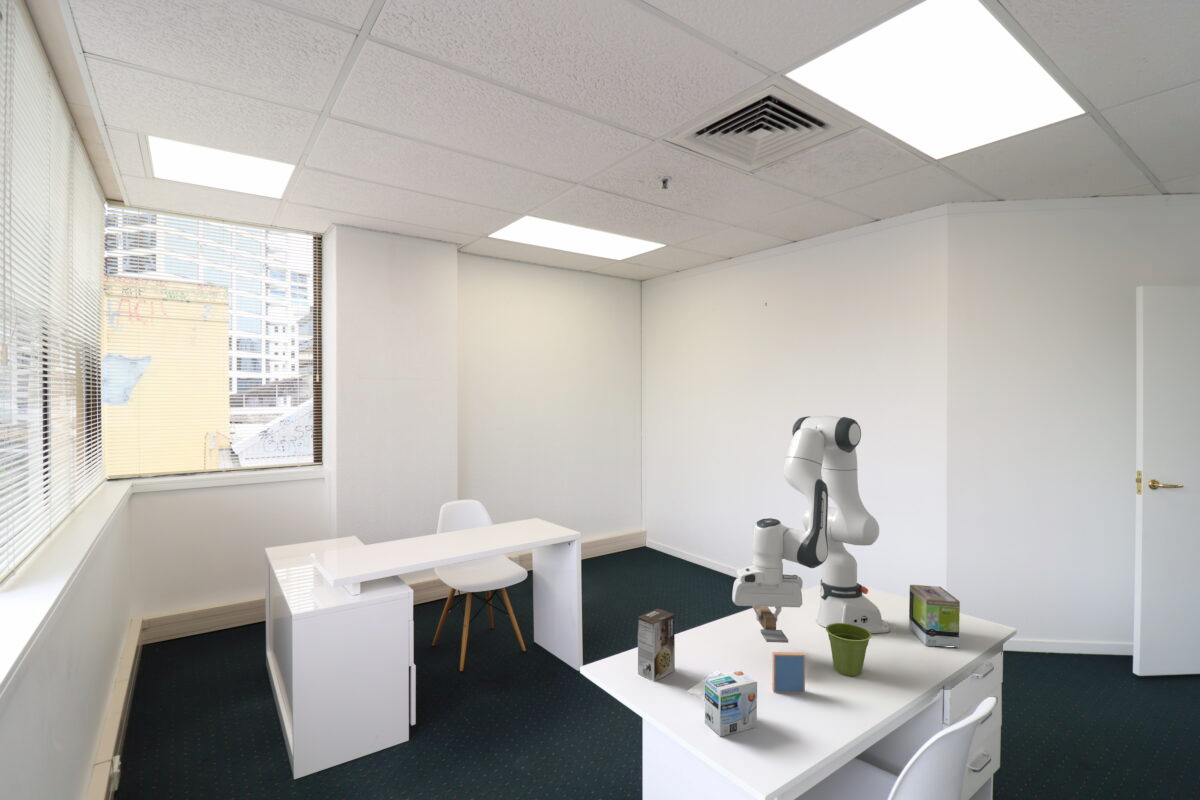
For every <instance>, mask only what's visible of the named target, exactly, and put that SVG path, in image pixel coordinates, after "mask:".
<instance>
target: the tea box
mask: <svg viewBox="0 0 1200 800" xmlns="http://www.w3.org/2000/svg"><path fill="white" fill-rule="evenodd" d="M908 603H909V604H908V605H909V607H908V610H909V611H908V613H909V615H908V627H909V629H910V630H911V631H912V632H913V633H914V634H915V635H916V637H918V638H919V640H920V641H921V642H922V644H924V645H925V646H927V647H935V646H954V647H958V648H959V646H960V617H961V616H960V613H961V611H960V610H961V609H960V607H961V602H960V600H959V599H957V598H956V597H955V596H954V595H952V594H951V593H950V592H948V591H947V590H946V589H944V588H943V587H942V586H940V585H939V586H937V585H925V584H922V585H921V584H909V602H908Z"/></svg>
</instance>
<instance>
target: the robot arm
mask: <svg viewBox="0 0 1200 800" xmlns="http://www.w3.org/2000/svg"><path fill="white" fill-rule="evenodd" d="M791 433H792V435H791V436H792V438H791V441H790V443H789V446H788V450H787V452H786V456H785V461H784V464H783V476H784V478H785V481H786V483H788V484H789V486H791V487H792V488H793V489H795V491H798V492H800V493H801V494H802V495H804V496H805V497H806V499H807V501H808V504H809V507H808V508H807V509H806V510H805V512H804V513H803V517H802V526H803V528H804V530H805V531H803V530H800V529H794V528H792V527H788V526H785V525H784V524H782V521H780V520H779V519H777V518H772V517H769V518H762V519H759V520H757V521H756V523H755V525H754V527H753V535H752V551H753V559H752V562H751V564H752V565H749V566H745V567H743V568H739V569H737V570H736V577H737V578H736V579H734V582H733V587H732V595H731V596H732V597H731V599H732V602H733V604H734V605H736V606H739V607H742V606H743V607H752V609H753V610H754V612H755V617H756V618H755V619H756V621H757V622H759V621H762V614H761V613H758V610H759V606H762V607H768V608H770V607H772V608H775V610H774V612H773V615H774V616H775V618H776V622H778V616H779V615H780V613H781V612H782V608H801V606H803V593H802V589H803V582H804V581H803V579H802V577H800V576H798V575H797V574H784V562H783V560H786V561H789V562H792V563H796V564H799V565H801V566H804V567H807V568H809V569H815V568H817V567H820V566H821V579H820V585H819V593H820V605H819V610H818V614H817V618H816V623H817V624H818V625H820V626H822V627H823V628H826V627H827V626H828V625H830V624H833V623H847V624H853V625H857V626H860V627H862V628H864V629H866V630H868V631H869V632H870V633H871V634H882V633H889V632H890V625H889V624H888V623H887V621H885V620H884V619H883V618H882V613H881V611H880V609H879V607H878V606H877V605H876V604H875V603H874V602H873V601H871V600H870V599H869V598H867V596H865V595H867V594H868V593H869V589H868V588H867V587H866V586H865V585H862V584H860V583H858V563H857V560H856V558H855V557H854V556H853V555H852V554H851V553H850V552H849V551H848V550H847V549H846V547H845V545H844V544H847V545H853V546H864V547H865V546H866V547H867V546H872V545H873V544H875V543H876V541H877V540H878V539H879V535H880V525H879V523H878V521H877V519H876V517H874V516H873V515H872V514H871V513H870V512H869V511H868V509H867V508H866V507H865V505H864V503H863V501H862V499H861V497H860V493H859V484H858V481H859V479H858V458H857V457H858V456H857V450H856V447H857V446H858V445H859V443H860V442H861V438H862V429H861V426H860V425H859V423H858V422H857V420H855V419H853V418H851V417H847V416H842V417H840V416H834V415H824V416H823V415H822V416H821V415H818V416H810V415H809V416H802V417H800V418H798V419H797V420H796V421H795V422H794V424H793V426H792V432H791ZM829 498H830V499H831V500H832V501H833V503H834V505H835V507H831V506H829Z"/></svg>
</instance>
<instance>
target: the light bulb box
mask: <svg viewBox="0 0 1200 800" xmlns="http://www.w3.org/2000/svg"><path fill="white" fill-rule="evenodd" d="M704 679H705V697H704V723H706V724H707V726H708V727H709V728H710V729H711V730H713V732H715V733H716V734H717V735H718V736H719V737H724V736H728V735H731V734H736V733H740V732H743V731H746V730H750V729H751V730H752V729H754V728H757V727H758V726H757V723H758V722H757V721H758V720H757V719H758V714H757V713H758V711H757V710H758V681H757V680H755V679H754V678H752V677H751V676H749V675H748V674H747V673H746V672H744V671H743V670H742V669H738V670H734V671H729V672H725V673H724V672H723V673H722V674H720V675H715V676H711V677H709V676H707V677H705V678H704Z"/></svg>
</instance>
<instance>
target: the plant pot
mask: <svg viewBox="0 0 1200 800" xmlns="http://www.w3.org/2000/svg"><path fill="white" fill-rule="evenodd" d="M825 631H826V633H828V634H827V636H828V641H829V644H830V650H831V657H832V663H833V667H834V668H833V669H834V671H835V672H837V673H838V674H841V675H844V676H851V677H858V676H860V675H862V673H863V669H864V662H865V658H866V652H867V647H868V646H869V642H870V639H871V638H872V636H873V634H872V633H870V632H869V631H868V630H866V629H864V628H862V627H860V626H857V625H853V624H847V623H833V624H830V625H828V626H827V627H825Z"/></svg>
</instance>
